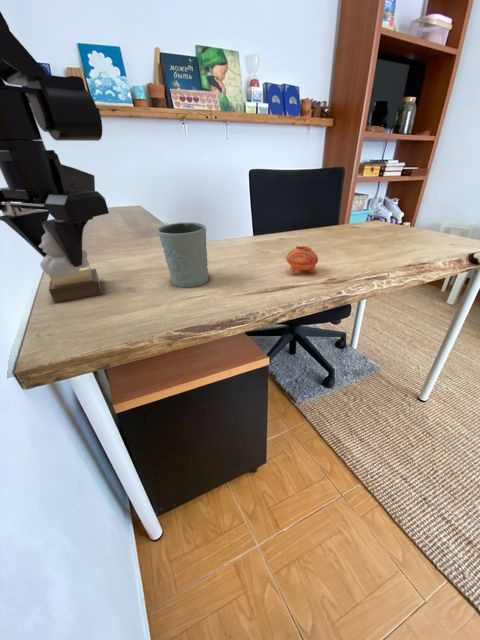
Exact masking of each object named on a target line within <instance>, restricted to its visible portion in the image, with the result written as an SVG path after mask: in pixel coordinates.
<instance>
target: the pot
mask: <svg viewBox="0 0 480 640" xmlns="http://www.w3.org/2000/svg"><path fill="white" fill-rule="evenodd" d="M285 259H286V262H287V263H288V264H289V266H290V271H291V274H292V275H295V274H296V271H297V270H298V271H307V270H310V273H314V271H315V269H316V266H317V264H318V262H319V257H318V255H317V253H316V252H315V251H314V250H313V249H312V248H311V246H308V245H301V246H298V245H297V246H295V248H293V249H292V250H290V251H289V252H288V253H287V254H286V256H285Z"/></svg>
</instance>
